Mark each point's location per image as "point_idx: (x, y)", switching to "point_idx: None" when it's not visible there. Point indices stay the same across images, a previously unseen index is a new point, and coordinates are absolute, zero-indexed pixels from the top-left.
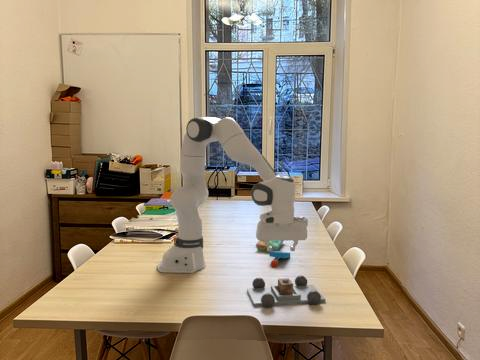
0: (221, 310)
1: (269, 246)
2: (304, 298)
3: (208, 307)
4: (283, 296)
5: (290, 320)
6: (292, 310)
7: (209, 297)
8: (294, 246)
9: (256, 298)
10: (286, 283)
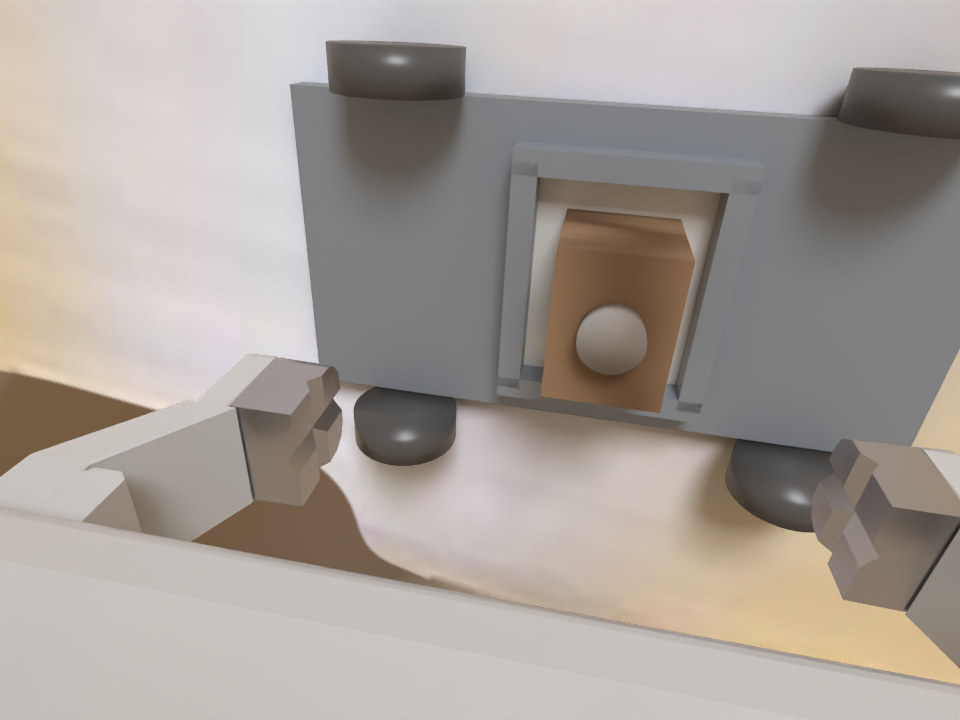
0: (131, 359)
1: (251, 437)
2: (730, 406)
3: (47, 300)
4: (544, 400)
5: (505, 564)
6: (567, 479)
7: (13, 139)
8: (940, 632)
9: (348, 308)
10: (596, 386)
